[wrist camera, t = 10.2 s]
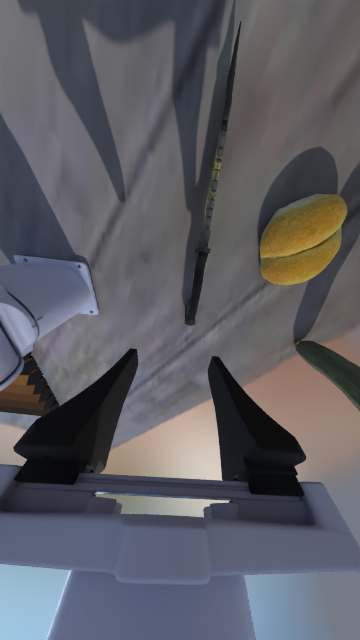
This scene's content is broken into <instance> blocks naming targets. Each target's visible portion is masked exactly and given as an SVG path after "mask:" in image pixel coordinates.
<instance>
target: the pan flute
mask: <svg viewBox="0 0 360 640" xmlns="http://www.w3.org/2000/svg"><path fill="white" fill-rule="evenodd" d="M30 355H31V353H30V352H29V353H28V354H26V355H25V356H24V357H22V358H23V360H24V367H23V369H22V371H21V373H20V374H19V376H18V377H17V378H16V379H15V380H14V381H13V382H12V383H11V384H10V385H8V386H7V387H6V388H4V389H3V390H2V391H0V412H9V413H18V414H27V415H36V416H44V415H45V414H47V413H49V412H51V411H52V410H54V409H56V408H58V407H59V404H58V402H57V401H55V399H56V398H55V396H54V395H53V394H51V392H52V391H51V389H50V387H46V385H47V382H46V380H45V378H41V377H42V375H43V374H42V373H41V371H40V369H36V368H35V367H36V366H37V364H36V362H35V360H34V358H28V357H29V356H30Z"/></svg>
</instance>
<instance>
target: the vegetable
mask: <svg viewBox="0 0 360 640" xmlns="http://www.w3.org/2000/svg"><path fill="white" fill-rule="evenodd" d="M295 347H296V350H297V352H298V353H299V355H300V356H301V357H302V358H303V359H305V361H306V362H307V363H309V364H310V365H311V366H312V367H313V368H315V369H316V370H317V371H319V372H320V373H322V374H323V375H324V376H326V377H327V378H328V379H329V380H330V381H331V382H332V383H334V384H335V385H336V386H337V387H338V388H339V389H340V390H341V391H342V392H343V393H344V394H345V395H346V396H347V397H348V398H349V400H350V401H351V402H352V403H353V404H354V405H355V406H356V408H357V409H358V410H359V411H360V367H359V366H357V365H355V364H354V363H352V362H350V361H348V360H347V359H345V358H344V357H342V356H340V355H339V354H338V353H336V352H334V351H332V350H330V349H328V348H327V347H325V346H322V345H320V344H318V343H316V342H313V341H301V340H300V341H299V342H298V344H296V345H295Z"/></svg>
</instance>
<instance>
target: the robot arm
mask: <svg viewBox="0 0 360 640" xmlns="http://www.w3.org/2000/svg"><path fill="white" fill-rule="evenodd" d="M26 259H27V260H28V261H27V260H26ZM14 260H15V262H16V264H9V265H1V266H0V391H2V390H3V389H4V388H6V387H7V386H8V385H10V384H11V383H12V382H13V381H14V380H15V379H16V378H17V377H18V376H19V374H20V373H21V371H22V369H23V367H24V360H23V358H22V357H24V356H25V355H26V354H28V353H29V352H31V351H32V350H33V343H34V342H35V341H37V340H38V339H40V338H41V337H43V336H44V335H46V334H47V333H49V332H50V331H52V330H53V329H55V328H56V327H58V326H59V325H61V324H62V323H64V322H65V321H67V320H68V319H70V318H71V317H73V316H74V315H76V314H77V313H82V314H92V315H97V314H99V309H98V305H97V301H96V297H95V293H94V289H93V285H92V280H91V276H90V272H89V268H88V265H87V264H86V263H83V262H74V261H66V260H57V259H49V258H40V257H31V256H23V255H15V256H14ZM79 265H80V266H81V268H80V267H79ZM92 311H93V312H92ZM137 367H138V355H137V349H129V350H128V351H127V352H126V354H125V355H124V356H123V357H122V358H121V359H120V360H119V361H118V362H117V363H116V364H115V365H114V366H113V367H112V368H111V369H110V370H108V371H107V372H106V373H105V374H104V375H103V376H102V377H100V378H99V379H98V380H97V381H96V382H94V383H93V384H92V385H90V386H89V387H88V388H86V389H85V390H84V391H82V392H81V393H79V394H78V395H76V396H75V397H73V398H72V399H70V400H69V401H67V402H66V403H64V404H63V405H61V406H59V407H58V408H56V409H54V410H52V411H51V412H49V413H47V414H45V415H44V416H42V417H40V418H38V419H37V420H36V421H35V422H34V423H33V424H32V425H31V426H30V428H29V429H28V430H27V431H26V432H25V434H24V435H23V436H22V438H21V439H20V440H19V441H18V442H17V444H16V445H15V446H14V447H13V448H14V451H15V452H16V453H17V454H19V455H21V456H23V457H24V458H26V459H27V461H26V462H25V464H24V465H23V467H22V466H18V465H5V464H0V564H8V565H20V566H32V567H43V568H54V569H66V570H70V571H69V575H68V577H67V580H66V583H65V586H64V589H63V592H62V594H61V597H60V600H59V603H58V606H57V609H56V612H55V615H54V618H53V621H52V623H51V626H50V629H49V632H48V635H47V638H46V640H256V638H255V632H254V627H253V622H252V617H251V611H250V606H249V600H248V595H247V589H246V583H245V578H244V575H257V574H285V573H311V572H312V573H313V572H360V547H359V545H358V543H357V541H356V540H355V538H354V536H353V535H352V533H351V531H350V530H349V528H348V526H347V524H346V523H345V521H344V519H343V518H342V516H341V514H340V512H339V510H338V509H337V507H336V505H335V504H334V502H333V500H332V498H331V497H330V495H329V494H328V492H327V490H326V488H325V487H324V485H323V484H322V483H321V482H298V480H297V478H296V475H298V474H297V471H296V469H295V467H294V466H296V465H298V464H299V463H302V462H303V461H305V460H306V455H305V454H304V452H303V450H302V449H301V446H300V445H299V443H298V441H297V440H296V438H295V437H294V436H293V435H291V434H290V433H289V432H288V431H287V430H285V429H284V428H283V427H282V426H280V425H279V424H278V423H277V422H276V421H274V420H273V419H272V418H271V417H270V416H269V415H267V414H266V413H265V412H264V411H263V410H262V409H261V408H260V407H259V406H258V405H257V404H256V403H255V402H254V401H253V400H252V399H251V398H250V397H249V396H248V395H247V394H246V393H245V391H244V390H243V389H242V388H241V387H240V385H239V384H238V383H237V382H236V380H235V379H234V378H233V376H232V375H231V374H230V372H229V371H228V370H227V368H226V367H225V365H224V364H223V362H222V361H221V359H220V358H219V357H216V356H212V359H211V362H210V365H209V368H208V378H209V384H210V388H211V393H212V397H213V402H214V406H215V412H216V419H217V427H218V436H219V446H220V457H221V469H222V480H223V481H217V480H200V479H182V478H181V479H180V478H164V477H146V476H128V475H110V474H100V473H101V472H102V471H103V470H104V469H105V467H106V463H107V459H108V455H109V451H110V448H111V444H112V440H113V437H114V433H115V430H116V426H117V423H118V420H119V416H120V413H121V410H122V407H123V404H124V401H125V398H126V396H127V393H128V391H129V389H130V386H131V384H132V381H133V379H134V376H135V374H136V370H137ZM95 494H110V495H131V496H152V497H172V498H190V499H210V500H230V501H229V503H213V504H210V506H209V507H205V508H204V518H203V517H189V516H172V515H147V514H120V513H121V508H122V505H121V504H120V503H117V502H116V499H110V498H102V497H96V495H95Z"/></svg>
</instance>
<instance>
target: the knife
mask: <svg viewBox="0 0 360 640" xmlns="http://www.w3.org/2000/svg"><path fill="white" fill-rule="evenodd" d="M240 28H241V22H240V25H239V29H238V33H237V37H236V41H235V45H234V50H233V56H232V61H231V66H230V70H229V74H228V80H227V85H226V91H225V97H224V102H223V108H222V114H221V120H220V127H219V133H218V139H217V146H216V152H215V158H214V165H213V171H212V178H211V184H210V190H209V197H208V203H207V209H206V216H205V222H204V227H203V229H202V233H201V236H200V242H199V247H198V248H196V249H195V252H196V260H195V267H194V279H193V287H192V293H191V298H190V300H189V303H188V306H186V309H185V324H187V325H190V326H192V325H194V324H195V315H196V311H197V307H198V302H199V297H200V292H201V287H202V281H203V274H204V268H205V263H206V260H207V256H208V253H210V250H211V249H209V248H207V247H208V241H209V235H210V230H209V229H210V223H211V217H212V212H213V206H214V200H215V194H216V189H217V183H218V177H219V171H220V166H221V159H222V154H223V148H224V143H225V137H226V131H227V122H228V117H229V112H230V107H231V102H232V90H233V83H234V76H235V67H236V58H237V51H238V43H239V35H240Z"/></svg>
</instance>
